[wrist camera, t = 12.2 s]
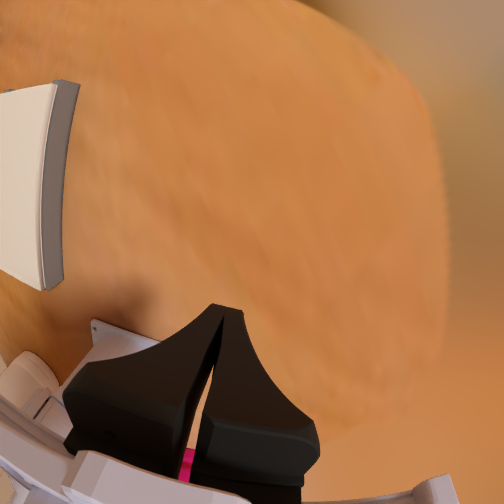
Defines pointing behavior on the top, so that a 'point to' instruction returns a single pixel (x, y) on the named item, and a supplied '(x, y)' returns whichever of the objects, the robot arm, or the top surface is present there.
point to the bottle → (26, 379)
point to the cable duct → (55, 180)
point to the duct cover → (23, 180)
